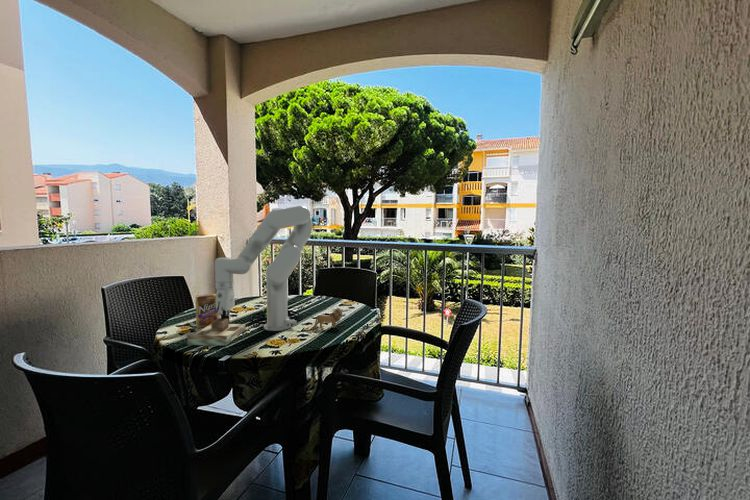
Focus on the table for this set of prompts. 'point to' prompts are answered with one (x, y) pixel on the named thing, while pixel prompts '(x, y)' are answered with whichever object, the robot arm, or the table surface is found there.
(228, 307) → the robot arm
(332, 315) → the lion figurine
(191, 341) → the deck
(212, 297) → the candy box
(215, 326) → the block
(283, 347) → the table surface
